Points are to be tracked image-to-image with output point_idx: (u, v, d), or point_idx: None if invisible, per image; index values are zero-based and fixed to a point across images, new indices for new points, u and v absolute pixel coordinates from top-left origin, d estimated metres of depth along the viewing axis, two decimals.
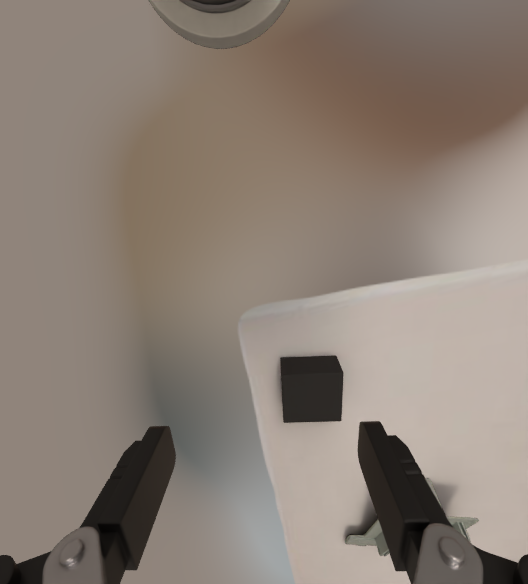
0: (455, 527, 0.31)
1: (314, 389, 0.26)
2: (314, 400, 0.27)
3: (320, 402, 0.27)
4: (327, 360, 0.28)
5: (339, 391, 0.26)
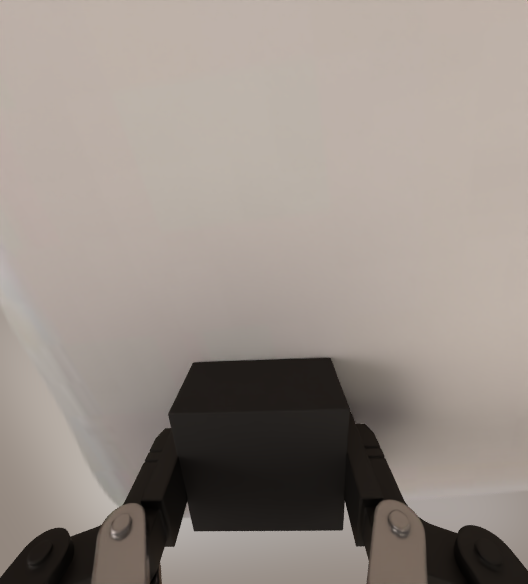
0: None
1: (231, 473, 0.10)
2: (269, 472, 0.10)
3: (276, 462, 0.09)
4: None
5: (234, 419, 0.09)
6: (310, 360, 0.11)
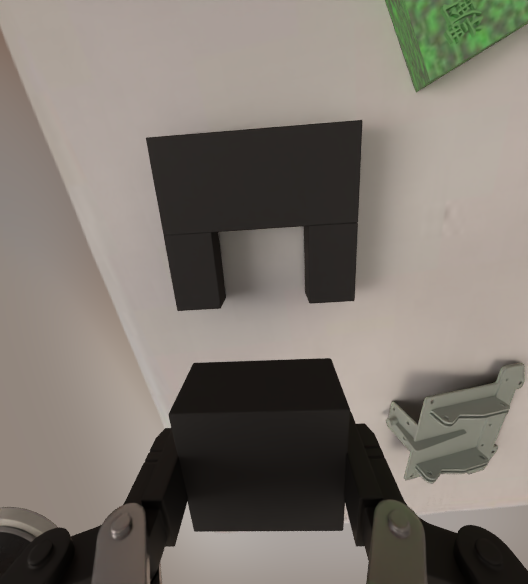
0: None
1: (232, 473, 0.10)
2: (269, 472, 0.10)
3: (276, 462, 0.09)
4: None
5: (234, 420, 0.09)
6: (310, 360, 0.11)
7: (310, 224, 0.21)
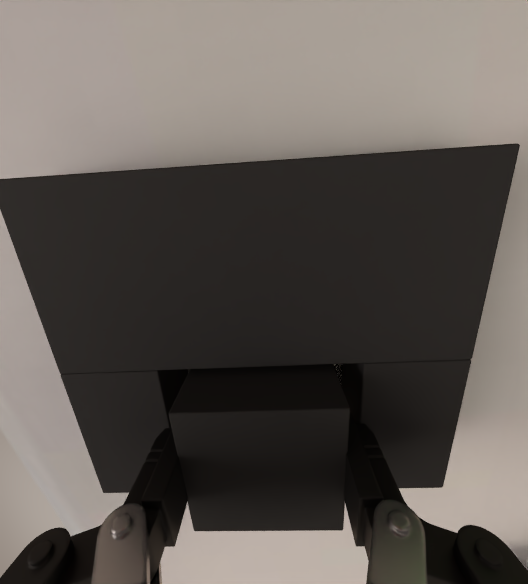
0: None
1: (231, 472, 0.10)
2: (269, 472, 0.10)
3: (276, 461, 0.09)
4: None
5: (234, 419, 0.09)
6: None
7: (368, 361, 0.10)
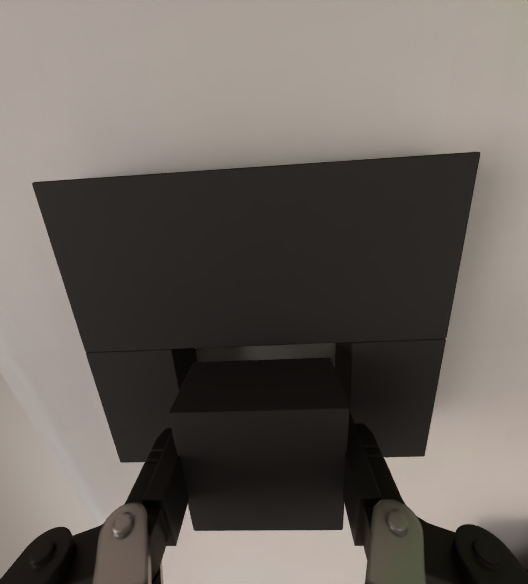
0: None
1: (231, 472, 0.10)
2: (268, 472, 0.10)
3: (275, 461, 0.09)
4: None
5: (234, 419, 0.09)
6: (310, 360, 0.11)
7: (356, 340, 0.11)
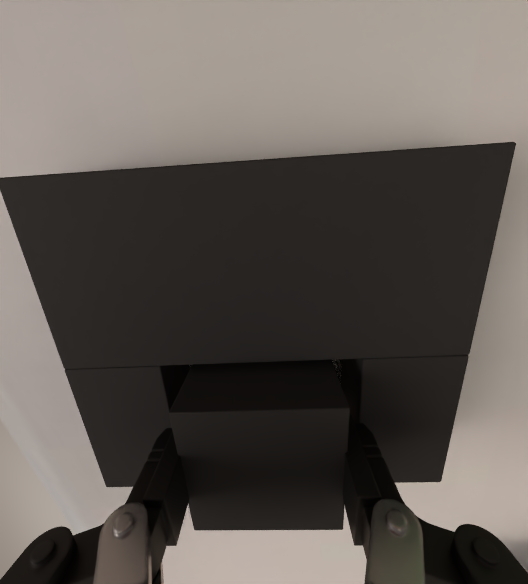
0: None
1: (232, 472, 0.10)
2: (269, 472, 0.10)
3: (276, 461, 0.09)
4: None
5: (234, 419, 0.09)
6: (310, 360, 0.11)
7: (367, 356, 0.10)
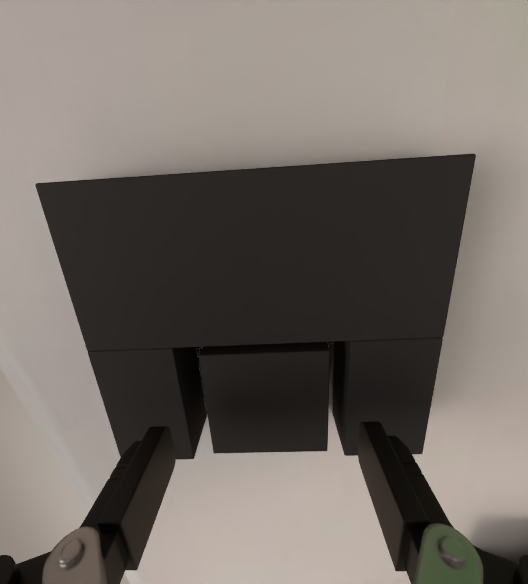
0: None
1: (243, 402, 0.13)
2: (271, 402, 0.13)
3: (276, 393, 0.13)
4: None
5: (246, 359, 0.12)
6: None
7: (354, 339, 0.12)
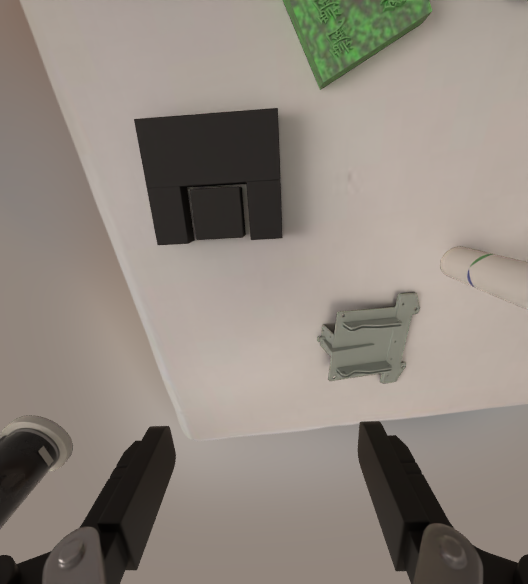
0: None
1: (207, 212, 0.32)
2: (218, 211, 0.32)
3: (220, 207, 0.32)
4: None
5: (208, 191, 0.32)
6: None
7: (247, 180, 0.31)
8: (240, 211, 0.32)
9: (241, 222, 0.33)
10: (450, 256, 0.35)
